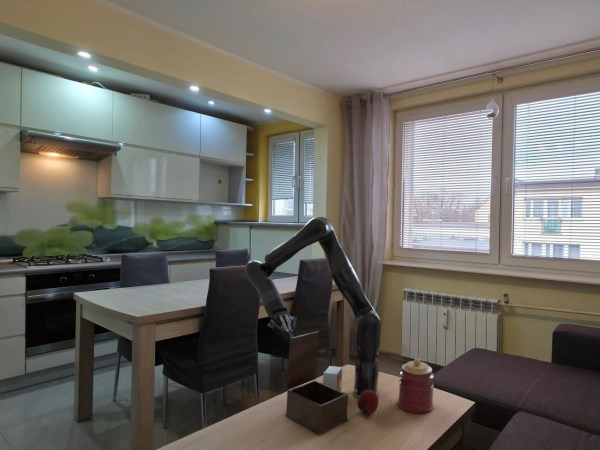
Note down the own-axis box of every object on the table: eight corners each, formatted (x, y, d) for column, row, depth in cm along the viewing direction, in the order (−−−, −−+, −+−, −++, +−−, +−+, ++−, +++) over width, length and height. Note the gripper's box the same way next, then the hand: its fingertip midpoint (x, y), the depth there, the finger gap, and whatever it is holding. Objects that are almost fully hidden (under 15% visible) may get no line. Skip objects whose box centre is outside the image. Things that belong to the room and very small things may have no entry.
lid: (319, 331, 140) (317, 331, 140) (291, 338, 130) (290, 337, 131) (315, 379, 140) (314, 378, 141) (288, 389, 130) (286, 388, 131)
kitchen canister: (404, 395, 151) (406, 350, 151) (436, 402, 146) (438, 357, 146) (392, 408, 140) (395, 360, 140) (427, 417, 134) (429, 367, 134)
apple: (382, 414, 135) (383, 391, 135) (365, 420, 130) (366, 397, 130) (369, 405, 141) (370, 384, 141) (352, 411, 136) (353, 389, 136)
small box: (335, 402, 142) (337, 374, 142) (321, 400, 143) (323, 372, 143) (341, 393, 150) (342, 367, 150) (328, 391, 151) (329, 365, 151)
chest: (347, 420, 130) (348, 394, 130) (319, 434, 120) (320, 406, 120) (313, 403, 140) (314, 379, 140) (286, 416, 131) (287, 390, 131)
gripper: (263, 299, 141) (282, 340, 133) (291, 295, 151) (310, 333, 143) (254, 311, 144) (272, 351, 136) (282, 306, 154) (300, 343, 146)
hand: (292, 341), depth 140 cm, fingers closed
